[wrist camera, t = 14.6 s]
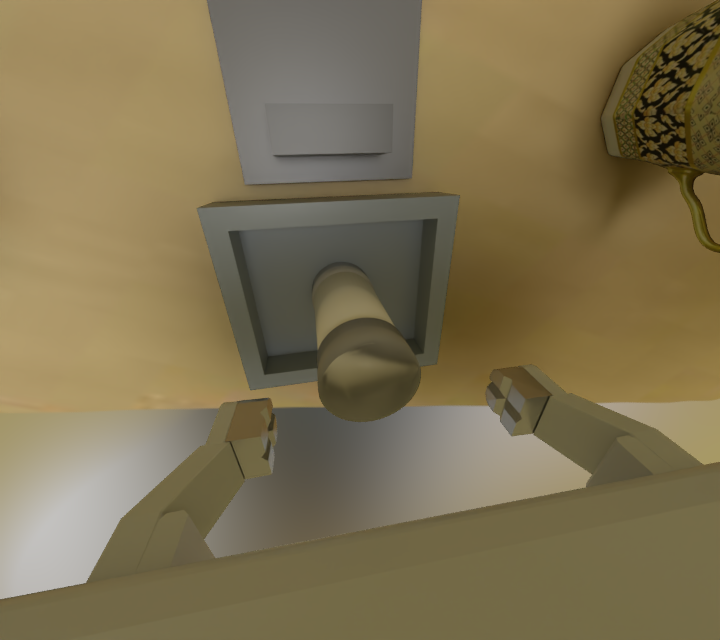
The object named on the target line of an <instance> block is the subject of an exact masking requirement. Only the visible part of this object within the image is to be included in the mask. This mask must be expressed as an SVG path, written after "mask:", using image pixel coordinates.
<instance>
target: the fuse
mask: <svg viewBox="0 0 720 640" xmlns="http://www.w3.org/2000/svg"><path fill="white" fill-rule="evenodd" d="M312 303H313V308H314V311H315V321H316V334H317V347H318V352H317V358H316V362H317V378H318V392H319V397H320V399H321V402H322V404H323V405H324V407H325V408H326V409H327V410H328V411H329V412H331V413H332V414H333V415H335V416H337V417H339V418H341V419H345V420H348V421H355V422H367V421H374V420H378V419H381V418H384V417H387V416H389V415H391V414H393V413H395V412H397V411H398V410H400V409H401V408H402V407H404V406H405V405H406V404H407V403H408V402H409V401H410V400H411V398H412V397H413V396H414V394H415V393H416V391H417V389H418V386H419V383H420V379H421V369H420V365H419V362H418V360H417V358H416V357H415V355H414V353H413V352H412V350H411V348H410V347H409V345H408V343H407V342H406V340H405V338H404V337H403V335H402V334H401V332H400V331H399V330H398V329H397V328H396V327H395V326H394V324H393V322H392V321H391V319H390V317H389V316H388V314H387V312H386V310H385V309H384V307H383V305H382V304H381V302H380V300H379V298H378V297H377V295H376V293H375V290H374V287H373V285H372V283H371V282H370V280H369V278H368V277H367V275H366V274H365V272H364V271H363V270H362V269H361V268H359V267H358V266H356V265H354V264H352V263H348V262H336V263H332V264H329V265H327V266H326V267H324V268H323V269H321V270H320V271H319V272H318V274H317V275H316V277H315V279H314V281H313V284H312Z"/></svg>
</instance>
